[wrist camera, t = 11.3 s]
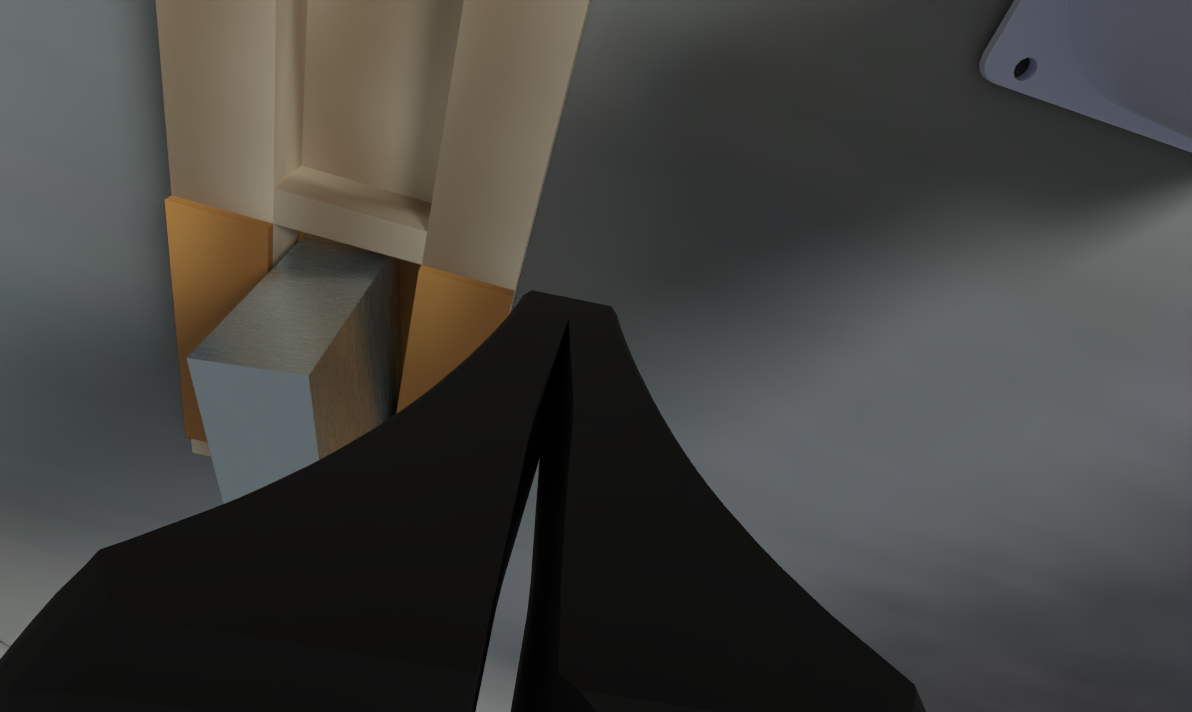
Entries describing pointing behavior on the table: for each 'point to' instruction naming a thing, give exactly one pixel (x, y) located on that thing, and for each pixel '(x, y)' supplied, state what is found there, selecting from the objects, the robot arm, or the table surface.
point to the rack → (361, 154)
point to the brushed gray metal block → (300, 364)
